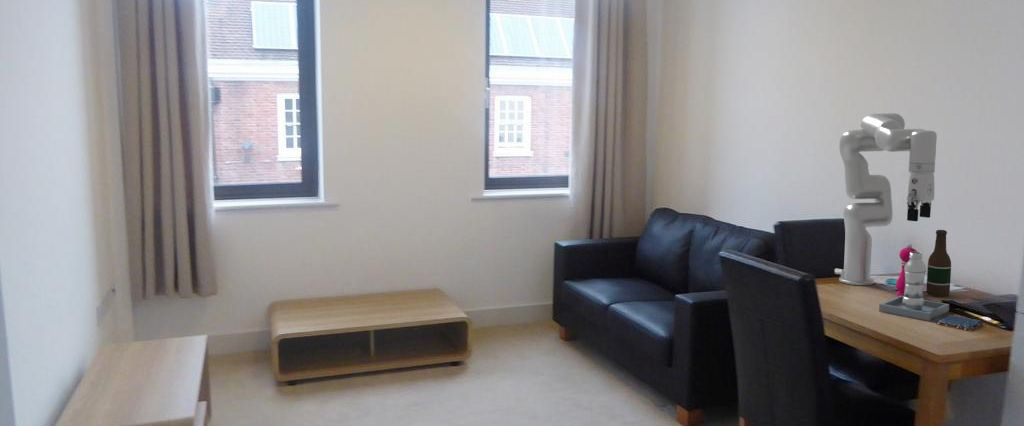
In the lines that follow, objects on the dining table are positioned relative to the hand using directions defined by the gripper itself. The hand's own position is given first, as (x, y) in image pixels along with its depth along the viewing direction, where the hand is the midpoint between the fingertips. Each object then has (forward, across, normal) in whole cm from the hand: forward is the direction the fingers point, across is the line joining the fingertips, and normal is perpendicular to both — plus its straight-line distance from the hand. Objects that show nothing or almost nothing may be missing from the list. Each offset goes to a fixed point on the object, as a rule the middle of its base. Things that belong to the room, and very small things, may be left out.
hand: (918, 219), depth 244 cm
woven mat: (+33, -5, -16) cm, 37 cm away
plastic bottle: (+32, -2, 0) cm, 32 cm away
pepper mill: (+32, +16, +9) cm, 37 cm away
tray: (+32, 0, 0) cm, 32 cm away
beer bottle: (+32, +28, +3) cm, 43 cm away
